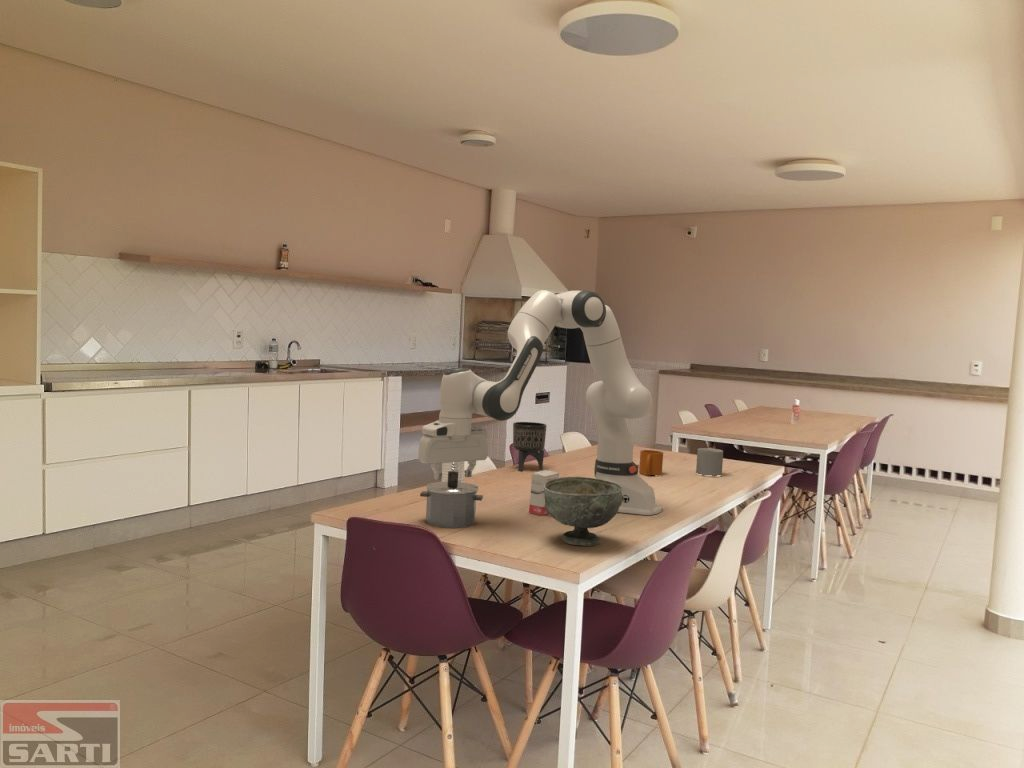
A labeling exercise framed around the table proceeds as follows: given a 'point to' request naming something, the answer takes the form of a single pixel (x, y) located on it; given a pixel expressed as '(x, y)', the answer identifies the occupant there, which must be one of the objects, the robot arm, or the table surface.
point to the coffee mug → (709, 461)
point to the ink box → (540, 491)
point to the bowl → (582, 505)
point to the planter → (529, 441)
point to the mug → (651, 462)
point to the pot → (450, 509)
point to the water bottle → (453, 467)
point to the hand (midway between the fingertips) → (453, 478)
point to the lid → (452, 486)
